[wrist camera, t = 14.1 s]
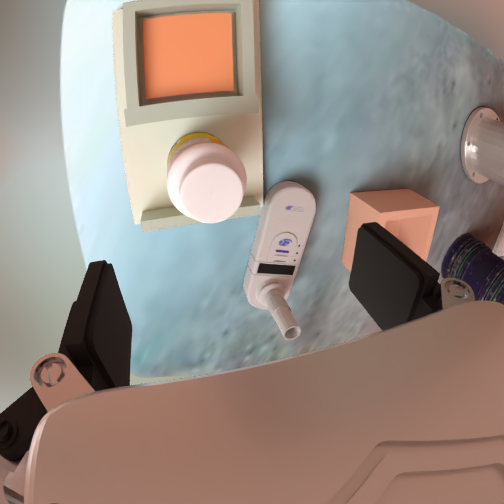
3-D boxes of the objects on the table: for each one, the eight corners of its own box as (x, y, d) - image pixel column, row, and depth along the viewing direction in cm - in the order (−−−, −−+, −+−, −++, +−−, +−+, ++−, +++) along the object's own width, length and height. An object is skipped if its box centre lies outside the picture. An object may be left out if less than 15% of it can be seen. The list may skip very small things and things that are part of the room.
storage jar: (434, 285, 48) (487, 337, 35) (448, 237, 43) (511, 287, 30) (465, 273, 50) (514, 317, 37) (478, 229, 45) (536, 271, 32)
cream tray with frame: (256, 2, 21) (267, -8, 18) (261, 203, 32) (270, 215, 29) (114, 12, 18) (107, 3, 15) (135, 221, 29) (132, 235, 26)
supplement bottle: (232, 179, 29) (263, 222, 20) (176, 195, 28) (181, 246, 19) (220, 123, 26) (247, 140, 17) (160, 139, 25) (155, 165, 16)
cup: (408, 188, 36) (439, 206, 31) (396, 251, 40) (422, 273, 35) (350, 192, 34) (380, 213, 29) (341, 262, 39) (365, 288, 33)
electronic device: (361, 217, 24) (307, 351, 30) (312, 184, 33) (278, 298, 39) (306, 207, 23) (259, 353, 29) (267, 175, 31) (238, 296, 37)
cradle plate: (229, 15, 21) (231, 12, 20) (231, 90, 24) (233, 90, 24) (143, 21, 19) (142, 19, 18) (147, 99, 23) (146, 99, 22)
